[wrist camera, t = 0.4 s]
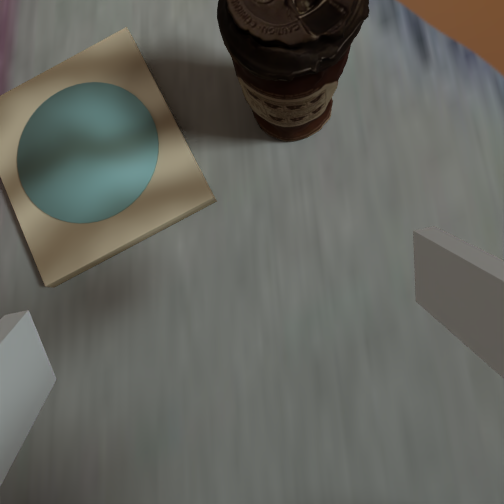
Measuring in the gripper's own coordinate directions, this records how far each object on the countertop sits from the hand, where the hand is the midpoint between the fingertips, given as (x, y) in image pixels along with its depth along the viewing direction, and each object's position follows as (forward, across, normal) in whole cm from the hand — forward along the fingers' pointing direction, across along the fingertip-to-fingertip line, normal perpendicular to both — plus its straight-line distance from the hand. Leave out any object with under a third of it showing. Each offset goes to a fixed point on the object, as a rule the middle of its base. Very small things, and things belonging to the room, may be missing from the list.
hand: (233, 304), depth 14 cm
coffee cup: (+22, -8, -5) cm, 24 cm away
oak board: (+24, +9, -4) cm, 26 cm away
